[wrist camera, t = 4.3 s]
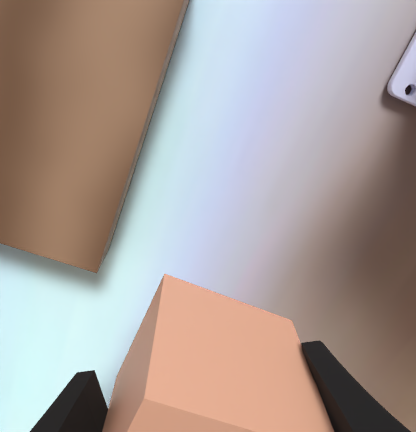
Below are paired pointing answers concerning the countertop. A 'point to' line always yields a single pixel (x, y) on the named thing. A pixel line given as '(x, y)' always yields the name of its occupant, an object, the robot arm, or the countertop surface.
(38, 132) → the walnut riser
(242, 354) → the terracotta cube
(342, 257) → the countertop surface
